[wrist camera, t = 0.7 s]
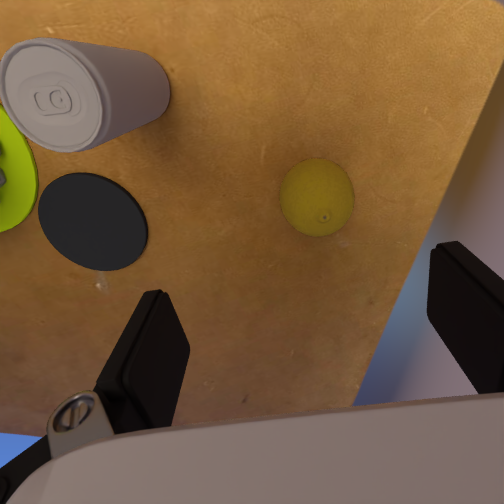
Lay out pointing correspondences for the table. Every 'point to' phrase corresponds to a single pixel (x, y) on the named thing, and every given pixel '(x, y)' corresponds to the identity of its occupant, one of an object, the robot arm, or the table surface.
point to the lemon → (316, 197)
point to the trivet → (93, 221)
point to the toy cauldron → (15, 174)
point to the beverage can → (79, 92)
